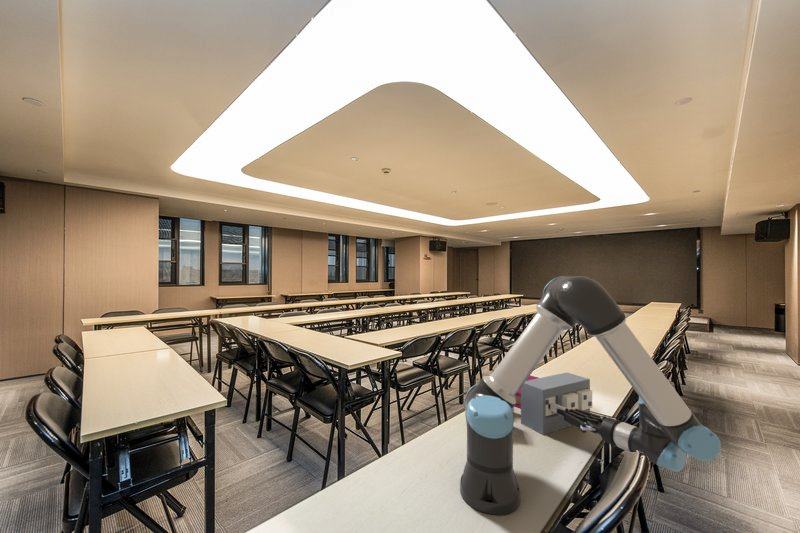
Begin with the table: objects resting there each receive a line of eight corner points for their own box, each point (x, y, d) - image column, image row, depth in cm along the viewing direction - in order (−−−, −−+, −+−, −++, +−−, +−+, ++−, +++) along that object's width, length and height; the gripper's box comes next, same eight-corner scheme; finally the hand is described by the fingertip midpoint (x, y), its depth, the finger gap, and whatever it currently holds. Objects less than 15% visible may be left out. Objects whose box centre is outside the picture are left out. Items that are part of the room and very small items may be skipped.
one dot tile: (567, 415, 120) (567, 397, 120) (559, 412, 123) (559, 394, 123) (578, 412, 123) (578, 394, 123) (570, 408, 126) (570, 391, 126)
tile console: (543, 434, 117) (543, 390, 117) (520, 423, 125) (520, 381, 126) (590, 419, 130) (589, 379, 130) (567, 410, 139) (566, 372, 139)
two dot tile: (582, 411, 124) (582, 393, 124) (574, 407, 127) (574, 390, 127) (593, 407, 127) (593, 390, 127) (585, 404, 130) (584, 388, 130)
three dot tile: (544, 417, 118) (544, 398, 118) (536, 413, 121) (536, 395, 121) (556, 413, 121) (556, 395, 121) (548, 410, 124) (548, 393, 124)
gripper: (607, 452, 96) (539, 420, 117) (631, 441, 102) (563, 413, 123) (606, 426, 96) (539, 399, 117) (630, 417, 102) (562, 393, 123)
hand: (551, 406), depth 120 cm, fingers closed
